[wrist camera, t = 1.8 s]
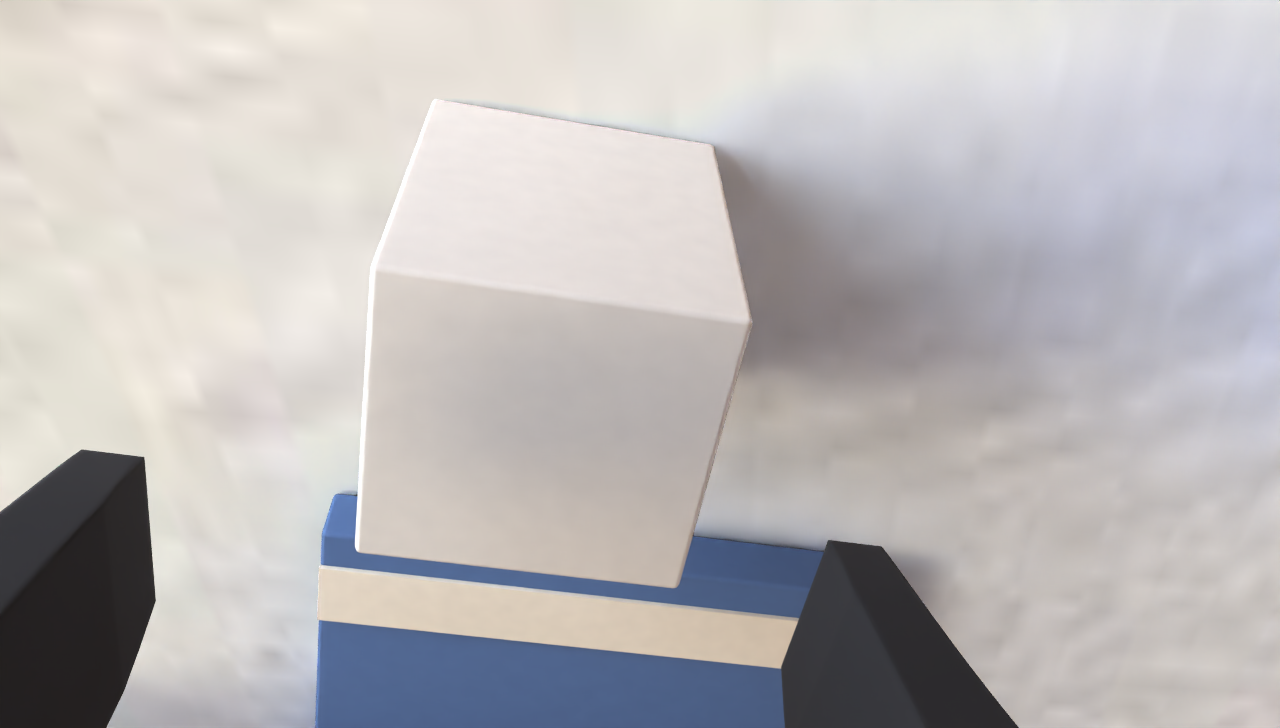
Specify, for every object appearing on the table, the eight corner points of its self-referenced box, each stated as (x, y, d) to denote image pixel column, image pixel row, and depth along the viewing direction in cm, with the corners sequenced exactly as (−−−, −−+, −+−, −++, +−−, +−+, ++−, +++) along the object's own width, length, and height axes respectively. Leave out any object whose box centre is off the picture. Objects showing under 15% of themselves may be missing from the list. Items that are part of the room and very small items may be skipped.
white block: (715, 143, 17) (754, 320, 13) (661, 373, 20) (678, 591, 15) (432, 96, 17) (369, 264, 12) (412, 339, 19) (353, 555, 15)
